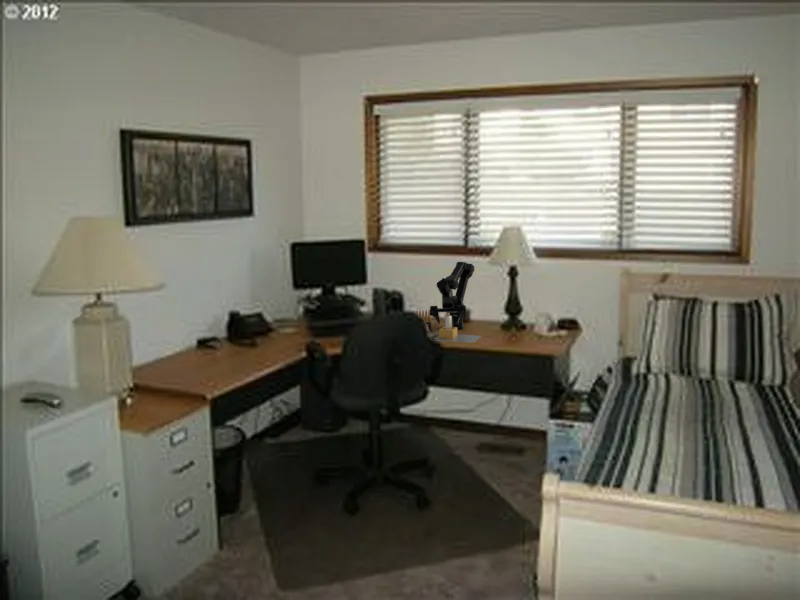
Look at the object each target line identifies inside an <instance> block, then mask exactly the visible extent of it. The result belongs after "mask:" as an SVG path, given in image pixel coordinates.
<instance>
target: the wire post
mask: <svg viewBox="0 0 800 600" xmlns="http://www.w3.org/2000/svg"><path fill="white" fill-rule="evenodd" d="M452 326H453V317H452V316H450V313H448V312H446V315H444V327H445V329H447V330H452Z"/></svg>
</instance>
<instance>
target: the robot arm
mask: <svg viewBox="0 0 800 600" xmlns="http://www.w3.org/2000/svg"><path fill="white" fill-rule="evenodd" d="M474 272H475V266H474V265H473V263H468V262H466V261H457V262H456V264H455V267H454V268H453V270H452V272H451V274H449V275H448V276H446V277H445V278H443V277H442V278H441V279H440V280H438V282H436V288H437V289H438V292H439V293H440V294H441V305H442V307H438V305H430V306H429V310H430V315H431V317H433V318H434V319H435V320H436V321H437V323H438V325H441V320H440V314H439V313H450V316H452V327H457V330H463V329H464V328H466V326H465V325H464V319H465V318H467V305H465V304H464V298H465V294H466V291H467V286H468V281H469V280H470V278H471V277H473V274H474ZM455 290H456V291H455ZM453 291H455V295H454V293H453Z"/></svg>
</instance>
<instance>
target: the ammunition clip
mask: <svg viewBox="0 0 800 600" xmlns="http://www.w3.org/2000/svg"><path fill="white" fill-rule="evenodd" d="M427 310H428V311H427ZM412 312H414V313H415V315H416V314H418V317H419V316H420V317H421V318H422V319H423V320H424V321H425V323H426V324H427V327H428V329H429V330H430V331H429V332H432V331H433V329H432V316H431V315H430V309H425V311H424V309H422V311H421V310H419V311H418V310H413V311H412Z"/></svg>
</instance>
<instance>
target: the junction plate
mask: <svg viewBox="0 0 800 600" xmlns="http://www.w3.org/2000/svg"><path fill="white" fill-rule="evenodd" d="M438 333H439V334H438V335H437V336H435V337H434V338H433V339H436V340H435V341H440V342H441V341H442V342H456V343H468V344H469V343H470V344H474V343H475V342H476V341H478V340H479V339H480V338H481V337H482V335H471V334H459V333H458V329H457V327H452V330H447V329H445V326H443V327H440V328H439V329H438Z"/></svg>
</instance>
